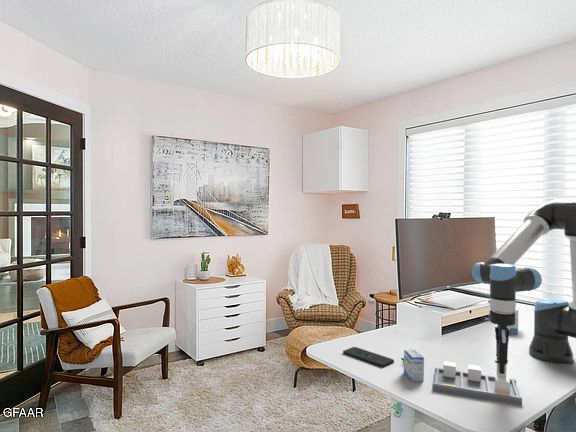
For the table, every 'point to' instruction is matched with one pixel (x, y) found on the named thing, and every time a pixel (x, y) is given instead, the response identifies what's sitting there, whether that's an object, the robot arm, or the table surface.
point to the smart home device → (368, 357)
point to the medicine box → (413, 365)
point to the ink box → (514, 327)
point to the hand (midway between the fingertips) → (501, 381)
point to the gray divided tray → (475, 387)
